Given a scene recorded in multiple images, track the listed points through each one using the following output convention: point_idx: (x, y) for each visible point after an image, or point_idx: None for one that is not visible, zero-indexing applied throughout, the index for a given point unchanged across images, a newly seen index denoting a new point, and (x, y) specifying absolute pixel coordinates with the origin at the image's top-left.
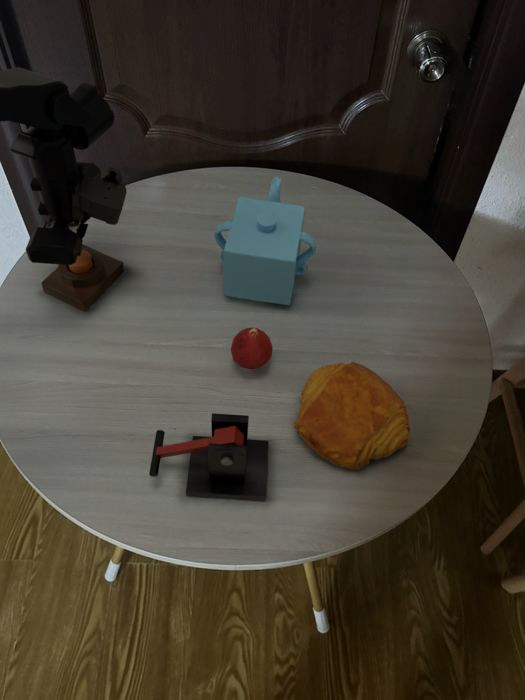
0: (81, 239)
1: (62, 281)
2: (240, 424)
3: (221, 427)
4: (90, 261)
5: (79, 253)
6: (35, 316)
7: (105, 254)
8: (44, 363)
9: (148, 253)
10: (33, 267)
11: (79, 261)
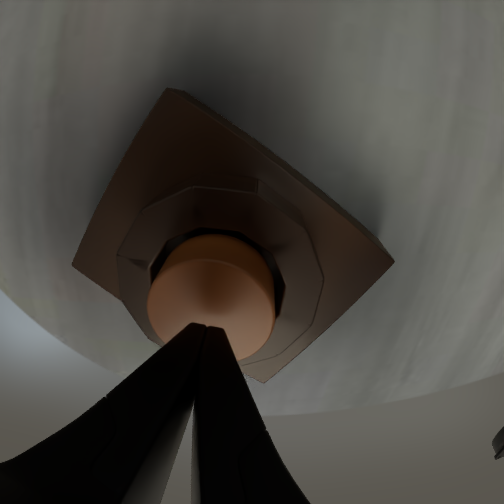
0: (173, 396)
1: None
2: None
3: None
4: (230, 257)
5: (230, 347)
6: (350, 363)
7: (115, 172)
8: (488, 326)
9: (95, 17)
10: None
11: (238, 316)
